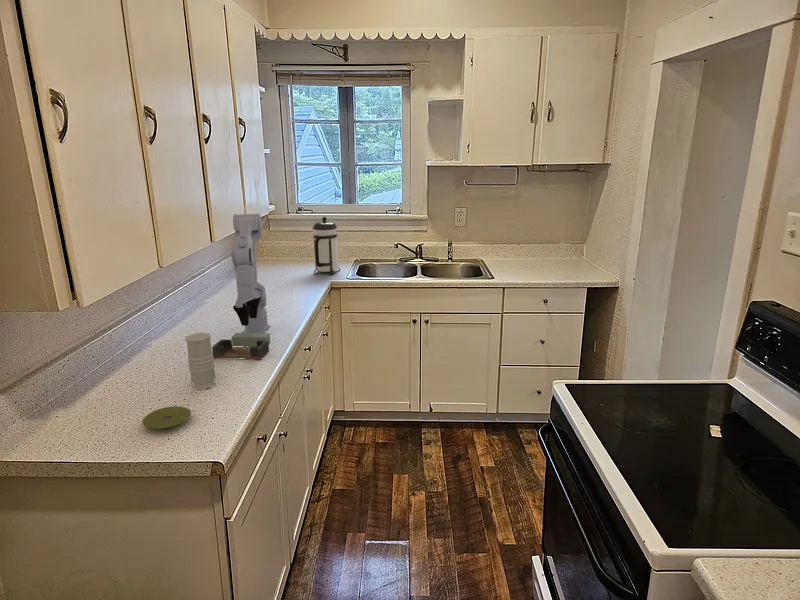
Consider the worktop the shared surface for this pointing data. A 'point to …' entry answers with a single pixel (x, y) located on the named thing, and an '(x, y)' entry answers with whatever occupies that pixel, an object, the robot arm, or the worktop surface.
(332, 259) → the coffee press
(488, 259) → the worktop surface
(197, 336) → the ribbed grey can
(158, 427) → the olive green disc
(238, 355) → the end cap cradle
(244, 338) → the stone
